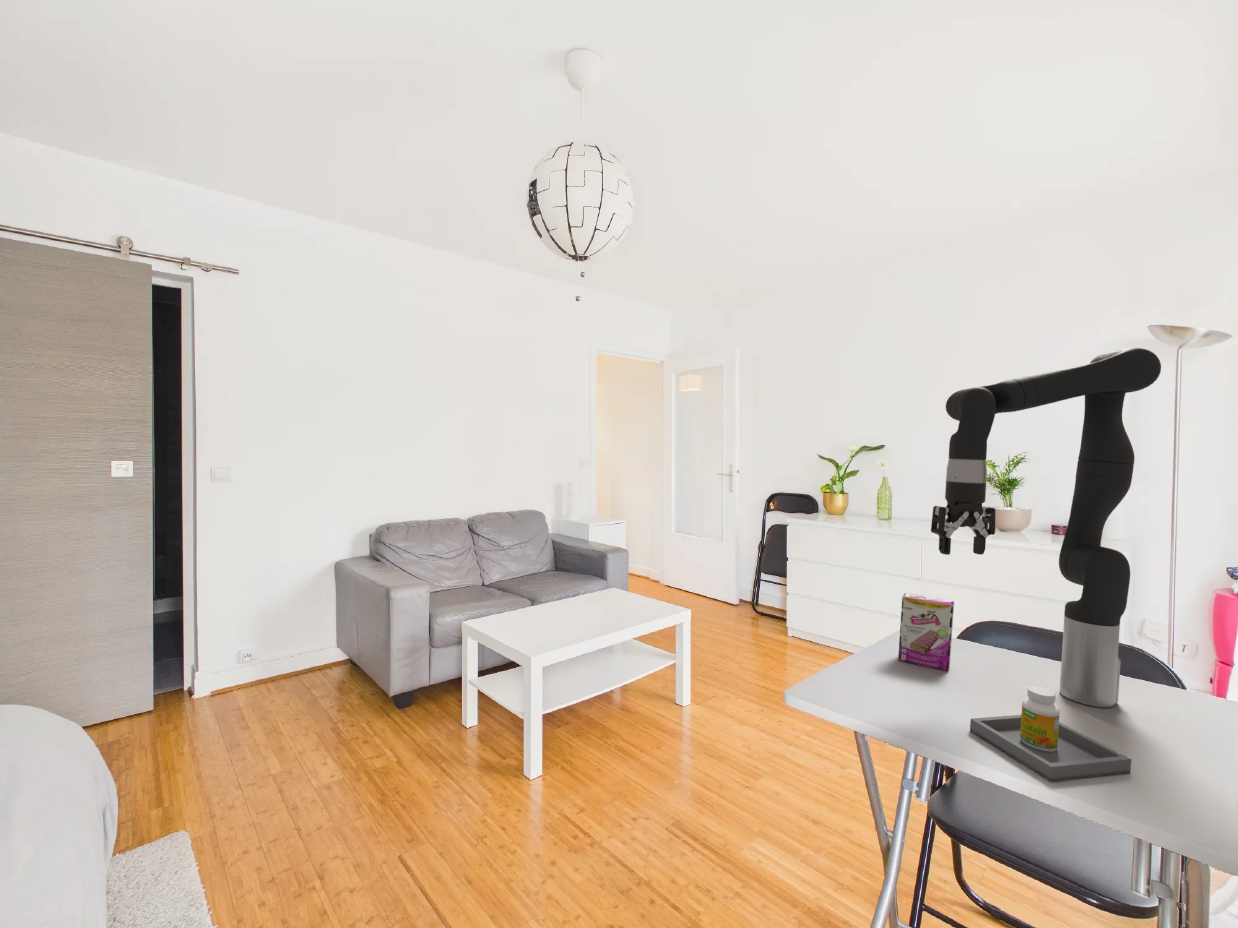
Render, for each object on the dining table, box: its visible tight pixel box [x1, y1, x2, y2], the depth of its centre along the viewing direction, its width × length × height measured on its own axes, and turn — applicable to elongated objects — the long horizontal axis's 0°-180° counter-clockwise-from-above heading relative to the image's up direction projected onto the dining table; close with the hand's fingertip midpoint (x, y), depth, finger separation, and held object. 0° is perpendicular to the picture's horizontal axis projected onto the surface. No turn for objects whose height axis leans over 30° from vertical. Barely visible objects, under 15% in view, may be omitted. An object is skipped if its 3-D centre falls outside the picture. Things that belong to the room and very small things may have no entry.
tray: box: [969, 714, 1132, 783], centre depth 100 cm, size 16×16×2 cm
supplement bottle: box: [1020, 685, 1060, 752], centre depth 101 cm, size 5×5×10 cm
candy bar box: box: [897, 592, 955, 672], centre depth 139 cm, size 11×5×16 cm, turn 58°
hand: (961, 553), depth 124 cm, fingers open, 8 cm apart
